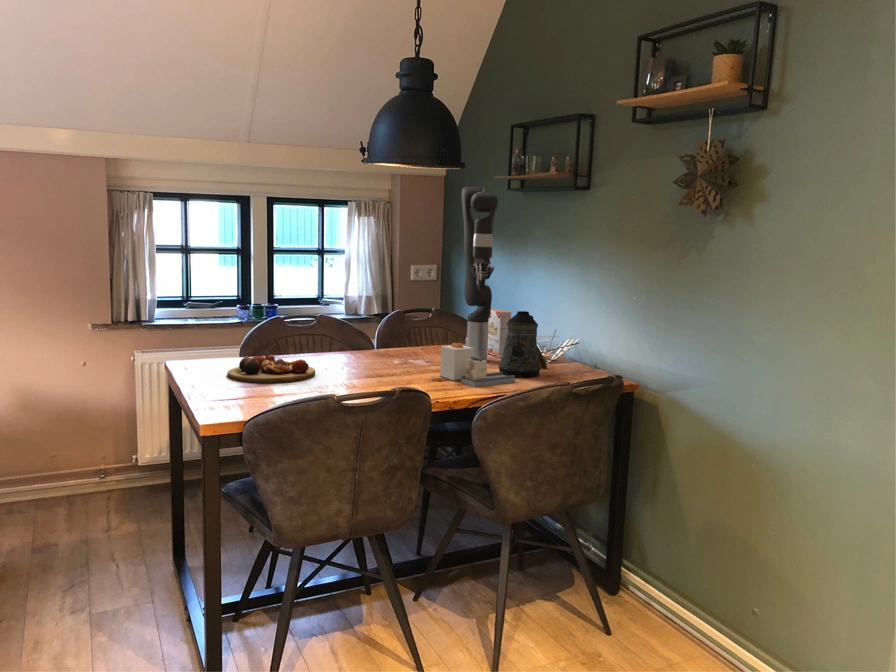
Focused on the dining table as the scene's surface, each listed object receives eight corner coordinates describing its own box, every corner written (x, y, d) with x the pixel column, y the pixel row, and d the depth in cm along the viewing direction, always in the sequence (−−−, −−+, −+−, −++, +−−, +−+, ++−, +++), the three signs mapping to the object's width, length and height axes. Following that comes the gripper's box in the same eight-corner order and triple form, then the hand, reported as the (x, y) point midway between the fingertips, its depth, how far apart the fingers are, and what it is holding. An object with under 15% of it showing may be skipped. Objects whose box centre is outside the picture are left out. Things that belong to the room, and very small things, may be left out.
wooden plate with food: (333, 376, 267) (333, 354, 266) (264, 387, 241) (264, 363, 240) (278, 366, 286) (278, 346, 285) (209, 376, 260) (209, 354, 260)
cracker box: (483, 353, 329) (485, 308, 326) (495, 352, 332) (496, 308, 329) (498, 358, 316) (500, 311, 314) (510, 357, 319) (511, 311, 316)
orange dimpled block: (451, 366, 268) (452, 343, 267) (457, 365, 270) (458, 342, 268) (455, 367, 266) (456, 344, 264) (462, 367, 267) (463, 343, 266)
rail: (461, 382, 260) (461, 376, 259) (501, 378, 271) (501, 371, 270) (474, 386, 253) (474, 380, 253) (514, 382, 264) (514, 375, 264)
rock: (514, 359, 300) (524, 360, 290) (525, 343, 302) (535, 343, 292) (533, 374, 303) (543, 375, 293) (544, 358, 304) (554, 359, 295)
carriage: (465, 378, 259) (466, 357, 258) (476, 376, 262) (476, 356, 261) (475, 381, 254) (476, 360, 253) (486, 379, 257) (487, 359, 256)
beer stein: (498, 377, 272) (501, 313, 268) (498, 368, 291) (500, 308, 288) (541, 379, 271) (544, 315, 268) (538, 370, 290) (541, 309, 287)
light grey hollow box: (439, 376, 269) (440, 346, 268) (459, 374, 275) (460, 344, 273) (453, 381, 262) (454, 349, 260) (473, 379, 267) (474, 348, 266)
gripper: (501, 246, 272) (499, 291, 274) (480, 245, 282) (478, 288, 285) (485, 246, 267) (483, 291, 270) (465, 245, 278) (463, 288, 280)
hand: (481, 289), depth 277 cm, fingers closed
